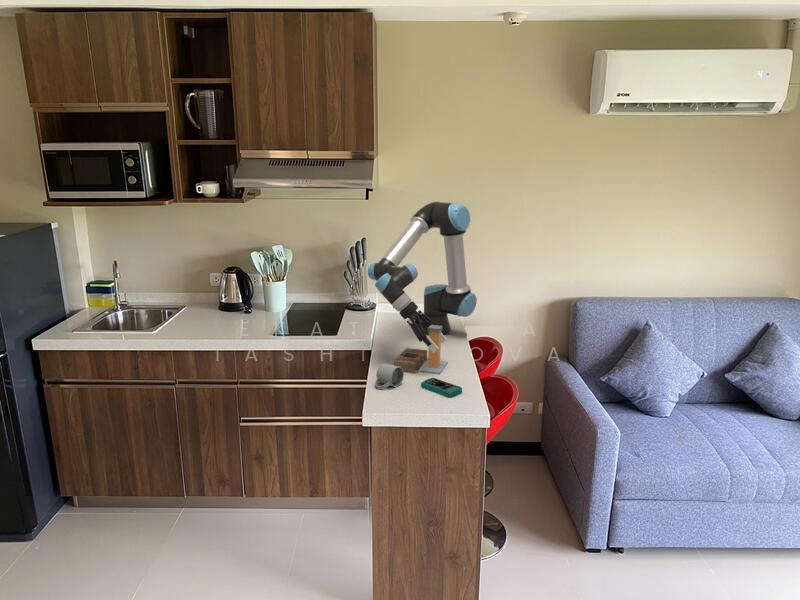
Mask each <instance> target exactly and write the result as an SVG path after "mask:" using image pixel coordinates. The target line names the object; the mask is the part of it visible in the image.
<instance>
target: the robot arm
mask: <svg viewBox="0 0 800 600" xmlns="http://www.w3.org/2000/svg"><path fill="white" fill-rule="evenodd" d="M470 222H471V214H470V210H469V208H468V207H466V205H464V204H462V203H458V202H443V201H442V202H441V201H433V202H429V203H427V204H425V205H424V206H422V207H421V208H420V209H419V210H417V211H416V212H415V213H414V215H412V217H411V218H410V221H409V223H408V226H406V228H405V229H404V230H403V231H402V232H401V234H400V236H398V238H397V239H396V240H395V241H394V242H393V244H392V245H391V247H390V248H389V249H388V250H387V252H385V254H384V255H383V257H381V259H380V260H379V261H378V262H372V263H371V264H369V266H368V268H367V276H368V277H369V279H371V280H373V281H375V283H374V286H375V288H376V289H377V290H378V292H379V293H380V295H382V296H383V297H384V298H385V300H387V302H388V303H389V304H390V305H391V306H392V309H395V311H396V312H399V315H400V317H402V318H403V320H406V319H407V320H406V323H407V324H408V325H409V327H410V328H411V330H412V332H413V333H414V335H415V336H416V338H417V340H418V341H419V342H420V343H422V342H423V343H424V344H425V345H426V347H427V348H428V350H429V349H430V350H431V351H432V352H433V353H434V352H435V351H437V350H438V349H439V348H438V347H437V346H436V345H435V344H434V342H433V341H432V340H431V339H430V338H429V335H428V334H429V332H428V327H429V326H430V325H438V326H442V331H441V344H443V343H444V342H445V341H446V340H447V337H446V335H448V334H450V333H451V325H450V321H449V317H448V315H451V316H457V317H463V318H467V317H469V316H471V315H472V314H473V313H474V311H475V309H476V306H477V299H478V298H477V295H476V294H475V293H473V292H472V289H471V285H469V284H468V282H467V270H466V258H465V247H464V235H465V233H466V232H467V231H466V230H467V229H468V228H469V226H470ZM433 228H434V229H439V234H440V236H442V237H443V243H444V253H445V261H446V262H445V264H446V265H445V266H446V273H447V274H446V275H447V282H448V284H443V283H441V284H431V285H427V286H426V287H424V292H423V311H422V310H420V309H419V306H418V305H417V304H416V303H415V302H414V301H413V300H412V298H411V297H410V296H409V295H408V294H407V293H406V291H404V289H405V288H407V287H408V286H410V284H412V283H413V282H414V281H415V280H416V278H418V275H419V274H418V273H419V272H418V269H417V267H415V265H414V264H412V263H406V264H404V265H402V266H399V265H400V264H401V263H402V262H403V260H405V258H406V256H407V255H408V254H409V253H410V251H411V250H412V249H413V248H414V246H415V245H416V243H417V242H418V241H419V240H421V239H420V238H421V237H422V236H423V235H424V234H427V233H428V232H429V231H430V230H431V229H433ZM418 309H419V310H418ZM417 310H418V311H417ZM449 332H450V333H449ZM425 333H426V334H425ZM447 333H448V334H447ZM443 334H445V335H443ZM427 335H428V336H427Z"/></svg>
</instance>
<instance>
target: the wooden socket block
mask: <svg viewBox="0 0 800 600" xmlns="http://www.w3.org/2000/svg"><path fill="white" fill-rule="evenodd" d="M427 361H428V350H427V349H419V348H412V347H406V348H405V349H404V350H403V351H402V352H401V353H400V354H399V355H398V356H397V357H396V358H395V359H393V366H399V367H401V368H402V369H403V373H410V374H416V373H417V371H419V369H420V368H422V367H423V364H424V363H425V362H427Z"/></svg>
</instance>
